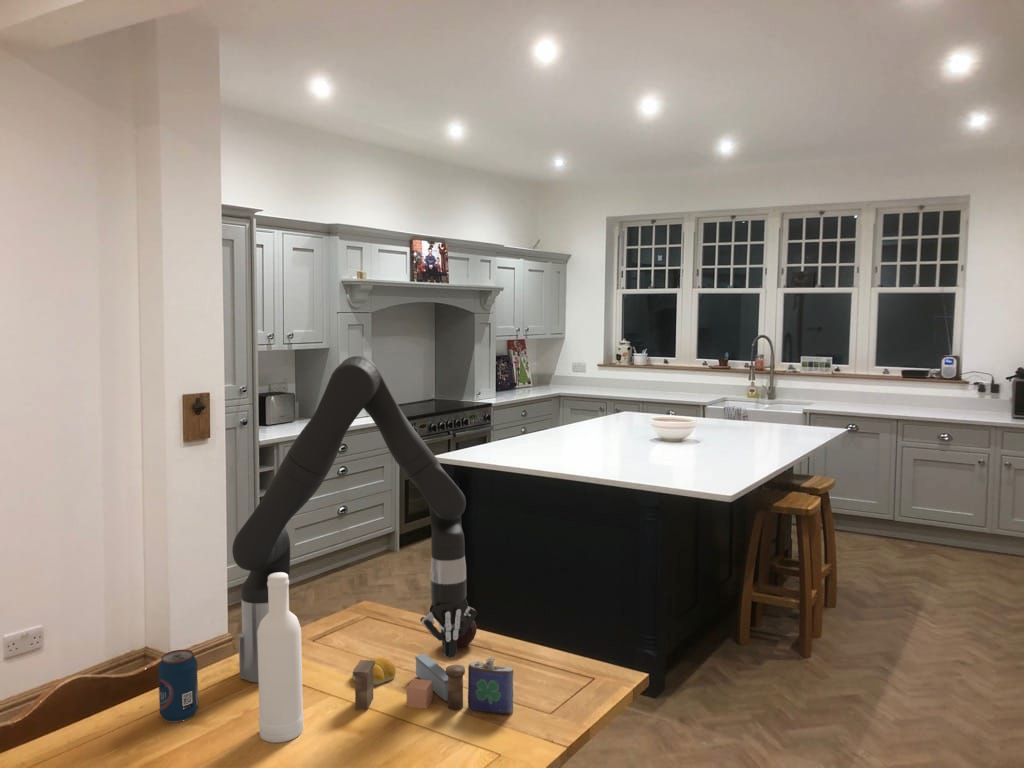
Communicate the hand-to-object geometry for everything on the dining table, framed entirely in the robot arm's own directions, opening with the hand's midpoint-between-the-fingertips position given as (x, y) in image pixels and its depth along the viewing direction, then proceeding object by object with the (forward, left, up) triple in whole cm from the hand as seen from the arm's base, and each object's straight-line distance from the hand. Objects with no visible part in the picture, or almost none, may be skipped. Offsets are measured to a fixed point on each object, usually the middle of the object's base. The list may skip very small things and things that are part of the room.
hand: (449, 656), depth 172 cm
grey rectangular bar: (-3, -4, -5) cm, 7 cm away
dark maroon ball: (0, +18, -5) cm, 19 cm away
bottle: (-28, -24, -5) cm, 38 cm away
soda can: (-50, -19, -5) cm, 54 cm away
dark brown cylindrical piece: (+3, -12, -5) cm, 13 cm away
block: (-5, -11, -5) cm, 13 cm away
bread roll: (-16, 0, -6) cm, 17 cm away
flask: (+10, -13, -5) cm, 17 cm away
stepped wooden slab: (-15, -12, -5) cm, 20 cm away
